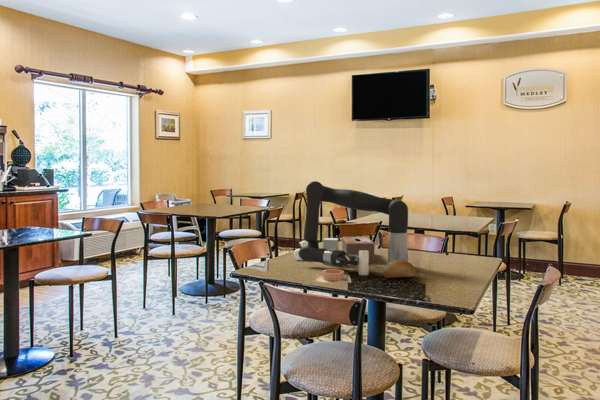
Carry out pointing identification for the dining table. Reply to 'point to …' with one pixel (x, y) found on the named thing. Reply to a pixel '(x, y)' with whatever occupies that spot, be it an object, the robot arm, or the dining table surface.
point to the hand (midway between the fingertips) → (363, 261)
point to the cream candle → (363, 262)
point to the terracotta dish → (333, 275)
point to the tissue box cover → (358, 246)
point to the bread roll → (399, 269)
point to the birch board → (320, 280)
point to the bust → (296, 252)
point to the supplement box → (330, 243)
